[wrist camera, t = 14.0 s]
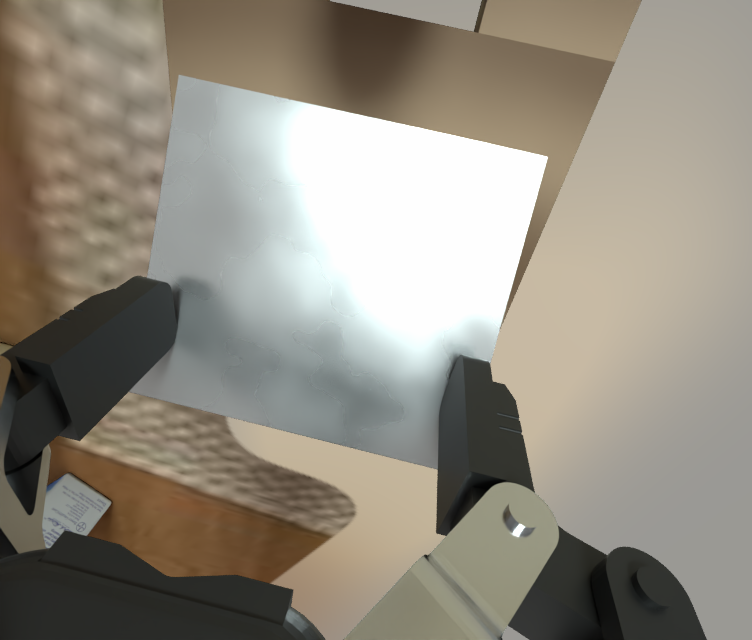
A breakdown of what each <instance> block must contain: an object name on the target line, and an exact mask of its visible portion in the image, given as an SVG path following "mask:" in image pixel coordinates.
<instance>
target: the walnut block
mask: <svg viewBox="0 0 752 640" xmlns="http://www.w3.org/2000/svg"><path fill="white" fill-rule="evenodd" d="M641 1H642V0H482V2H481V6H480V10H479V13H478V17H477V21H476V25H475V29H474V32H472V31H467V30H463V29H458V28H453V27H449V26H444V25H439V24H435V23H430V22H425V21H421V20H416V19H411V18H406V17H402V16H397V15H392V14H388V13H383V12H378V11H373V10H369V9H364V8H359V7H355V6H350V5H345V4H341V3H336V2H332V1H330V0H163V10H164V22H165V33H166V45H167V56H168V68H169V79H170V91H171V102H172V114H173V109H174V102H175V96H176V90H177V83H178V77H179V75H182V76H187V77H191V78H196V79H200V80H205V81H209V82H214V83H218V84H223V85H227V86H232V87H236V88H241V89H245V90H250V91H254V92H259V93H263V94H268V95H272V96H277V97H281V98H286V99H290V100H295V101H299V102H304V103H308V104H313V105H317V106H321V107H326V108H330V109H335V110H339V111H344V112H348V113H353V114H357V115H362V116H366V117H371V118H375V119H380V120H384V121H389V122H393V123H398V124H402V125H407V126H411V127H416V128H420V129H425V130H429V131H434V132H438V133H443V134H447V135H452V136H456V137H461V138H465V139H470V140H474V141H479V142H483V143H488V144H492V145H497V146H501V147H506V148H510V149H515V150H519V151H524V152H528V153H533V154H537V155H542V156H546V157H548V158H547V161H546V165H545V169H544V172H543V176H542V179H541V183H540V186H539V190H538V194H537V197H536V201H535V204H534V208H533V212H532V215H531V219H530V222H529V226H528V230H527V233H526V237H525V240H524V244H523V248H522V251H521V255H520V258H519V262H518V266H517V269H516V273H515V276H514V280H513V284H512V287H511V291H510V294H509V298H508V302H507V305H506V309H505V312H504V316H503V320H502V323H501V326H502V324H503V322H504V319H505V317H506V314H507V312H508V310H509V308H510V305H511V303H512V301H513V298H514V295H515V294H516V291H517V289H518V286H519V284H520V282H521V280H522V277H523V275H524V273H525V270H526V268H527V266H528V263H529V261H530V259H531V256H532V254H533V252H534V249H535V247H536V245H537V243H538V240H539V238H540V236H541V233H542V231H543V228H544V226H545V224H546V222H547V219H548V217H549V215H550V212H551V210H552V208H553V205H554V203H555V201H556V198H557V196H558V193H559V191H560V189H561V187H562V184H563V182H564V180H565V177H566V175H567V173H568V171H569V168H570V166H571V163H572V161H573V159H574V156H575V154H576V152H577V150H578V147H579V145H580V143H581V140H582V138H583V136H584V133H585V131H586V129H587V126H588V124H589V121H590V119H591V117H592V114H593V112H594V110H595V108H596V105H597V103H598V100H599V98H600V96H601V94H602V91H603V89H604V87H605V84H606V82H607V80H608V78H609V75H610V73H611V70H612V68H613V66H614V63H615V61H616V59H617V57H618V54H619V52H620V49H621V47H622V45H623V42H624V40H625V38H626V36H627V33H628V31H629V29H630V26H631V24H632V22H633V19H634V17H635V15H636V12H637V10H638V8H639V5H640V3H641ZM500 329H501V327H500ZM499 331H500V330H499Z"/></svg>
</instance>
